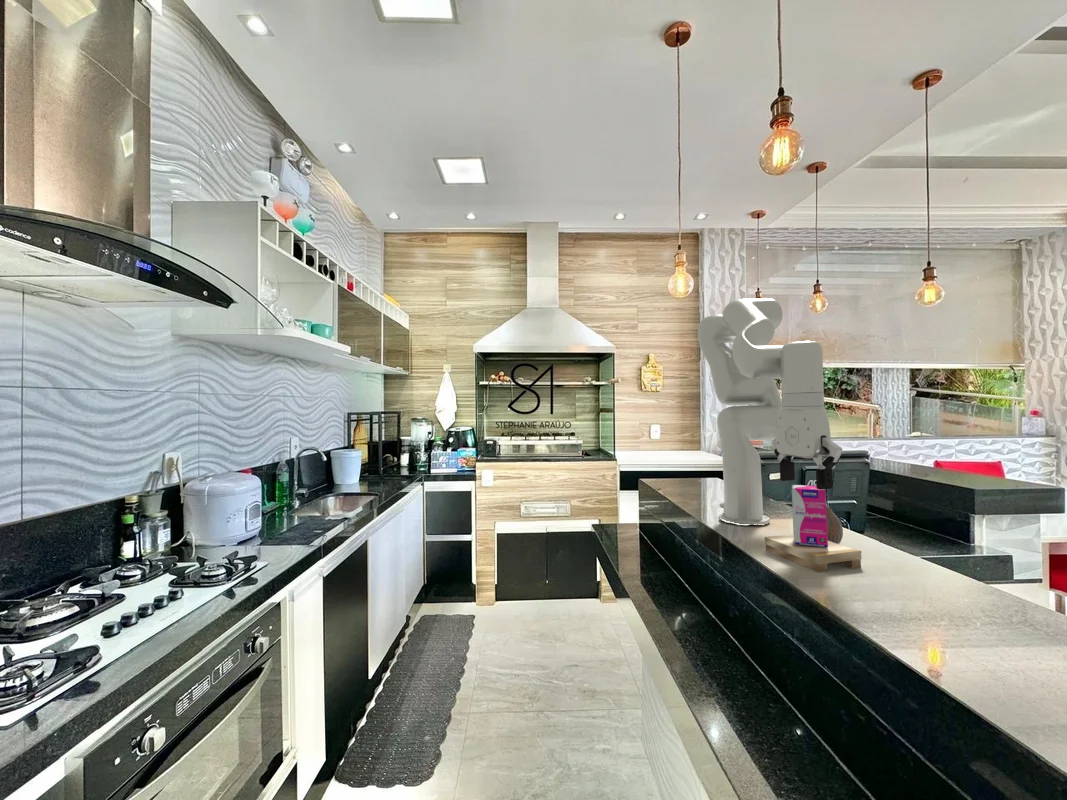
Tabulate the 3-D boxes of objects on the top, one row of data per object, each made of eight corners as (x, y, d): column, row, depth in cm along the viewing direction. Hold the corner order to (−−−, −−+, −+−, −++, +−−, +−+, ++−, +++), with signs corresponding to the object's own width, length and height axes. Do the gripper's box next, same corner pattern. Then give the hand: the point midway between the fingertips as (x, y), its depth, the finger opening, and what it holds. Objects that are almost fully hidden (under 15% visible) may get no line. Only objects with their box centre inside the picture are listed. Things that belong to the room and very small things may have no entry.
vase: (800, 541, 105) (798, 503, 105) (831, 540, 105) (829, 502, 105) (818, 550, 98) (816, 509, 99) (851, 549, 98) (848, 508, 98)
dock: (765, 550, 99) (764, 536, 99) (804, 546, 101) (804, 532, 101) (817, 572, 85) (816, 555, 85) (862, 567, 87) (861, 550, 87)
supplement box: (794, 545, 92) (792, 487, 92) (793, 538, 97) (790, 484, 98) (829, 548, 89) (825, 489, 90) (825, 541, 94) (822, 485, 95)
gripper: (757, 402, 102) (760, 478, 102) (821, 402, 85) (824, 494, 85) (787, 401, 103) (789, 476, 103) (855, 401, 86) (857, 491, 86)
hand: (805, 484), depth 94 cm, fingers open, 9 cm apart
